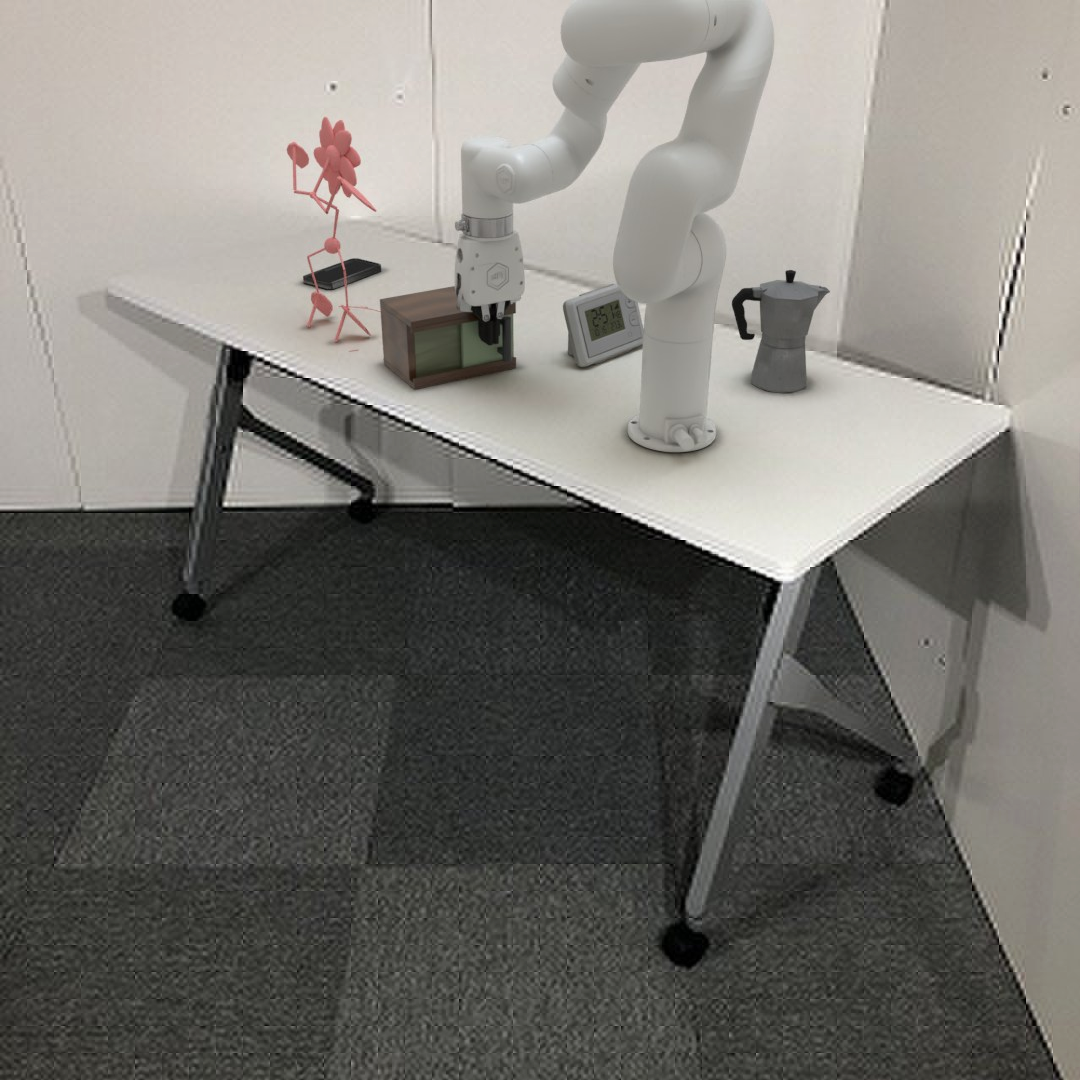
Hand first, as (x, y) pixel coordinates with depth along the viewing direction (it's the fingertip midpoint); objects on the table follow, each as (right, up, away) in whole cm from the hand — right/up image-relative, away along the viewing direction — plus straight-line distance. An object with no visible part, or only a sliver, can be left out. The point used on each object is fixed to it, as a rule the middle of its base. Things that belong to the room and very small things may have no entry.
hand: (489, 341), depth 186 cm
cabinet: (-7, -2, +8) cm, 11 cm away
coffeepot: (+44, -6, +2) cm, 45 cm away
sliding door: (0, -3, +4) cm, 5 cm away
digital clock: (+18, 0, +12) cm, 22 cm away
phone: (-30, +20, +47) cm, 59 cm away
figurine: (-24, +6, +23) cm, 34 cm away
